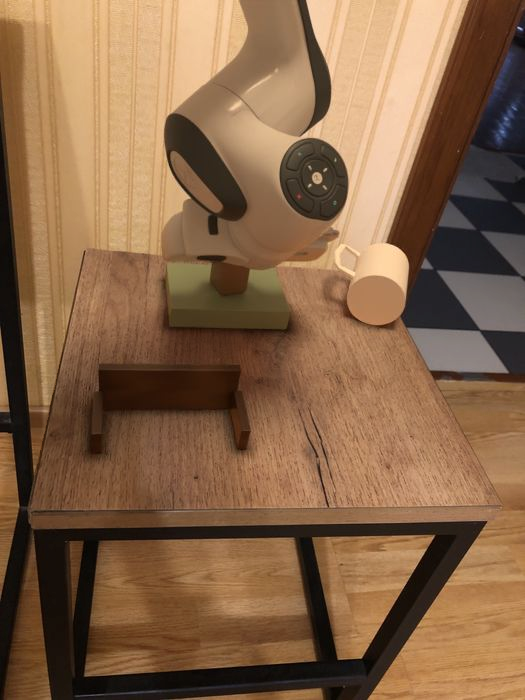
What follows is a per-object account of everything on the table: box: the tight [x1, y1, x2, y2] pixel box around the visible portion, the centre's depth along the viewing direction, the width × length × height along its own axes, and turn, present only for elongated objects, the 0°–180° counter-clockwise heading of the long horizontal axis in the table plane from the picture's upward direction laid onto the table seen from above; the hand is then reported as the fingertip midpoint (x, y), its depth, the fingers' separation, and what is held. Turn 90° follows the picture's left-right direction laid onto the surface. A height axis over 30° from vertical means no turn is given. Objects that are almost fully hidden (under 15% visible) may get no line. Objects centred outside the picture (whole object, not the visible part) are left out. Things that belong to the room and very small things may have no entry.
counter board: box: [164, 262, 291, 330], centre depth 81 cm, size 16×11×3 cm
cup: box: [333, 242, 410, 326], centre depth 86 cm, size 8×12×10 cm
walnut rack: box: [90, 363, 252, 454], centre depth 61 cm, size 16×7×6 cm, turn 100°
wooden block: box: [210, 262, 250, 296], centre depth 78 cm, size 4×4×8 cm
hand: (230, 257), depth 78 cm, fingers closed on wooden block, 5 cm apart
